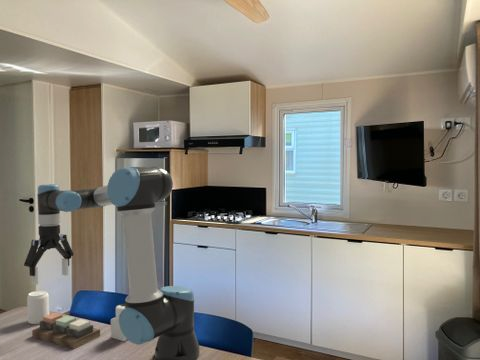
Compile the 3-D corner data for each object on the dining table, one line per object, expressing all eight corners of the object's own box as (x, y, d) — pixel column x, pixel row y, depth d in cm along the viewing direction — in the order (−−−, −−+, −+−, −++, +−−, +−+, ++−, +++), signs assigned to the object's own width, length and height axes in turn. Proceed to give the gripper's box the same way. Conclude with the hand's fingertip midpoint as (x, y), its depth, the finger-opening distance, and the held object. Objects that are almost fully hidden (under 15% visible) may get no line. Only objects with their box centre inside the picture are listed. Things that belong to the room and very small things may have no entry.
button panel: (100, 335, 153) (99, 323, 153) (74, 348, 142) (73, 335, 142) (59, 325, 164) (59, 313, 164) (32, 336, 153) (32, 323, 153)
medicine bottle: (124, 330, 158) (124, 300, 157) (138, 334, 154) (137, 304, 153) (110, 337, 152) (109, 306, 151) (124, 341, 148) (123, 309, 147)
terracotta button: (62, 320, 157) (62, 314, 157) (51, 325, 153) (51, 319, 153) (54, 318, 160) (53, 312, 160) (42, 323, 155) (42, 316, 155)
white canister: (40, 325, 163) (39, 296, 163) (23, 324, 165) (22, 295, 165) (53, 318, 171) (52, 290, 171) (37, 317, 173) (36, 289, 172)
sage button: (76, 324, 154) (75, 317, 154) (64, 329, 150) (64, 322, 149) (67, 322, 156) (66, 315, 156) (55, 326, 152) (55, 320, 152)
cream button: (89, 327, 151) (89, 321, 150) (79, 332, 146) (78, 326, 146) (80, 325, 153) (80, 319, 153) (69, 330, 148) (69, 323, 148)
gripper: (69, 219, 167) (70, 270, 168) (12, 228, 145) (13, 286, 146) (82, 220, 164) (83, 272, 165) (25, 230, 141) (27, 289, 142)
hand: (50, 279), depth 155 cm, fingers open, 13 cm apart
